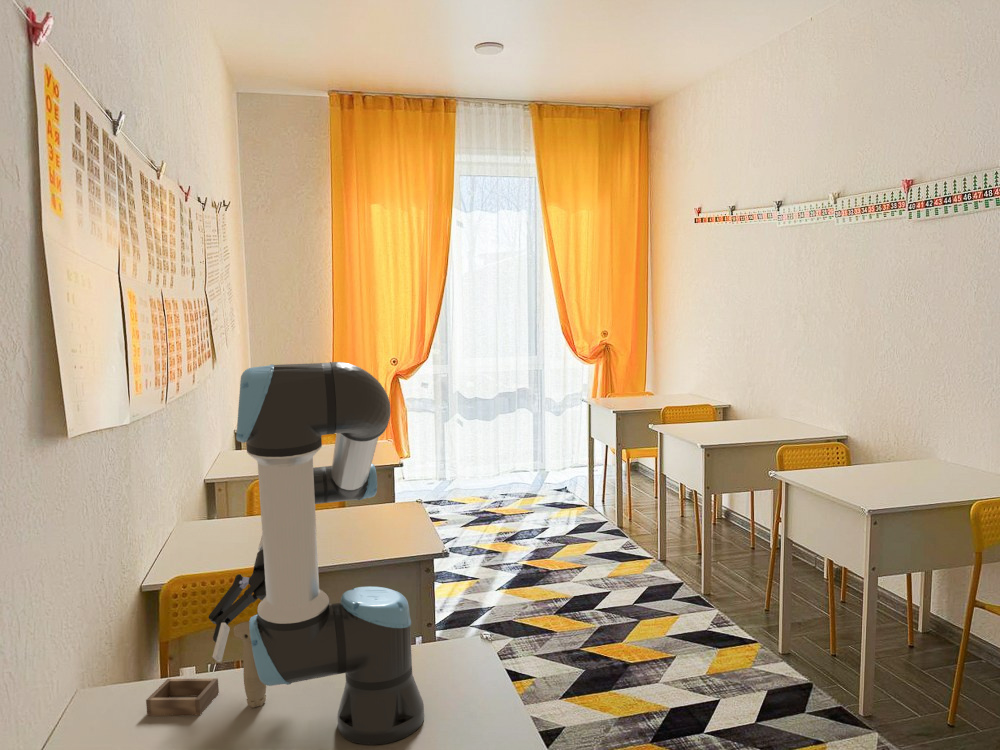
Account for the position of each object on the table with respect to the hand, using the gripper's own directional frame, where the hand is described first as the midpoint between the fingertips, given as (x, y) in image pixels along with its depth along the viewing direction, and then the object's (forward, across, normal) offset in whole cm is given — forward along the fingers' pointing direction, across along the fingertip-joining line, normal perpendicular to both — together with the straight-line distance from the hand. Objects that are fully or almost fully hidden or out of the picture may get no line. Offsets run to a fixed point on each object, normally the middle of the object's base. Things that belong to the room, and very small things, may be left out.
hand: (252, 659), depth 136 cm
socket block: (+6, +14, -6) cm, 16 cm away
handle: (+6, 0, -6) cm, 9 cm away
